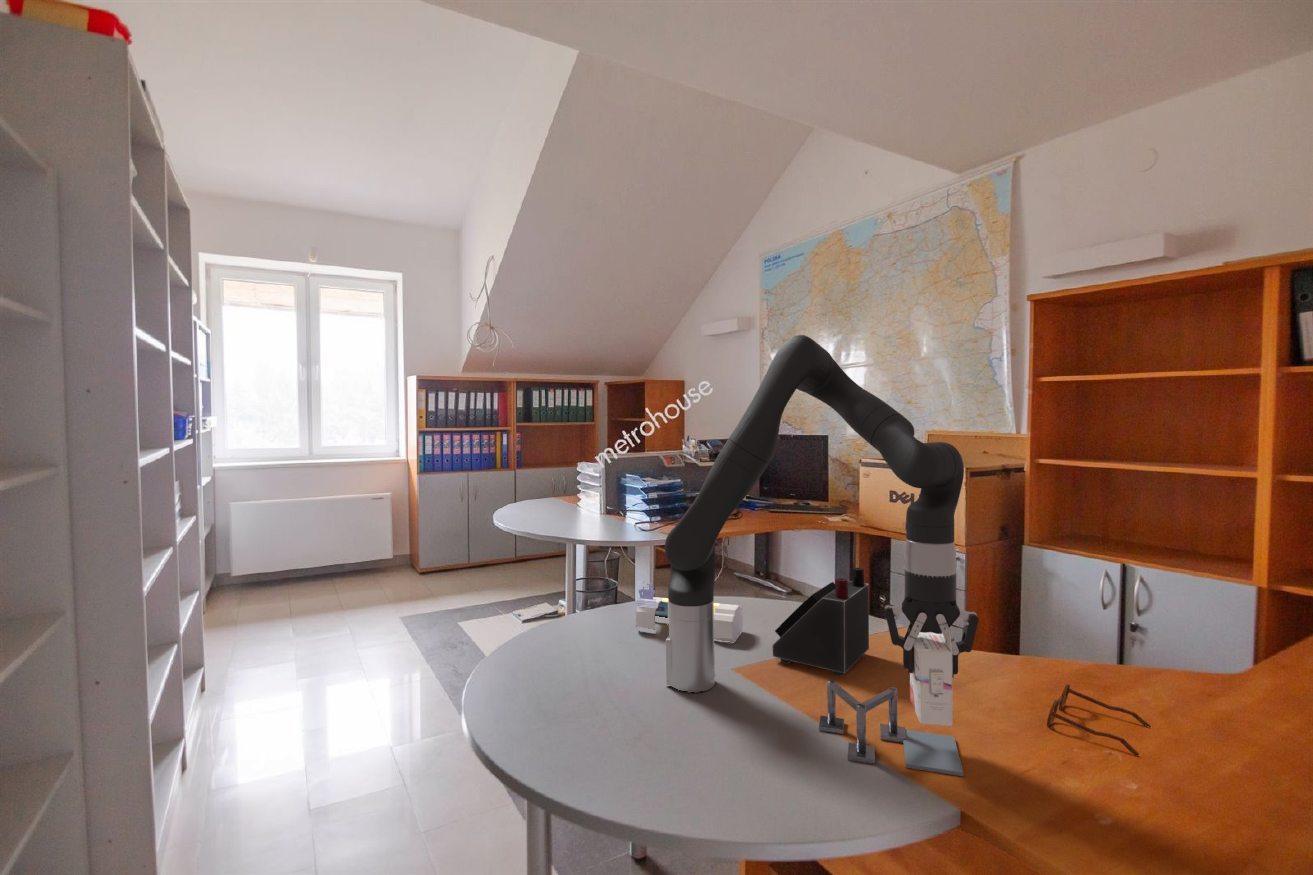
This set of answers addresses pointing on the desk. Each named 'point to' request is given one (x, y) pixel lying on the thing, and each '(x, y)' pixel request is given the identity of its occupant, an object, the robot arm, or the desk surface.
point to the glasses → (1061, 704)
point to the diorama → (725, 615)
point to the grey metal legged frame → (862, 721)
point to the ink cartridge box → (932, 679)
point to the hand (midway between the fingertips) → (930, 673)
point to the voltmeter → (828, 627)
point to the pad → (932, 753)
